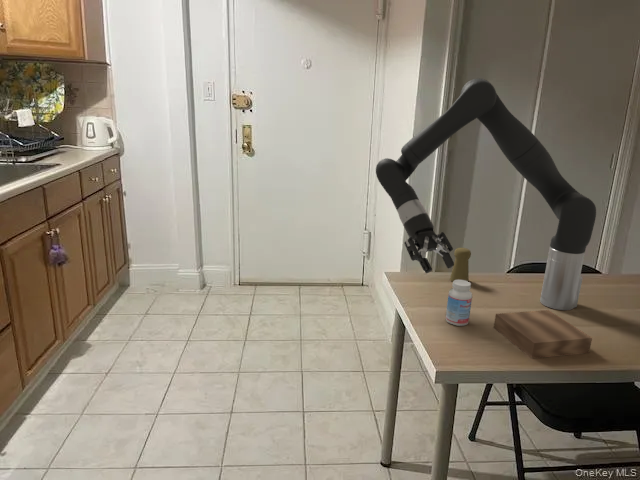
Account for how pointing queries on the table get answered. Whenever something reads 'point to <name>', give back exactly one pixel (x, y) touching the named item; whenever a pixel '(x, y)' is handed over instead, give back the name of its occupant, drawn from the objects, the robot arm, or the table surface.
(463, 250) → the cork
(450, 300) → the pill bottle
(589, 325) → the table surface
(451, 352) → the table surface
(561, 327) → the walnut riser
